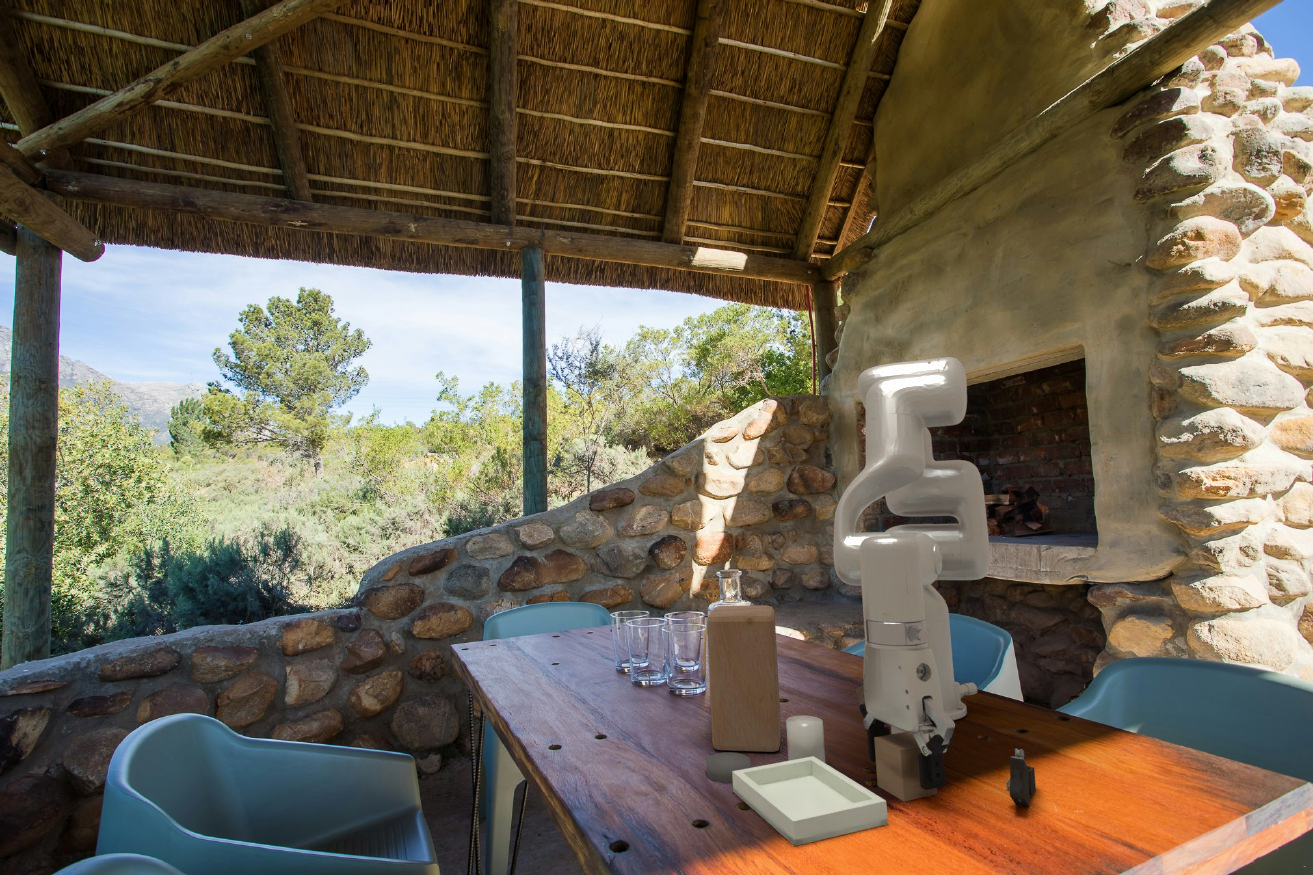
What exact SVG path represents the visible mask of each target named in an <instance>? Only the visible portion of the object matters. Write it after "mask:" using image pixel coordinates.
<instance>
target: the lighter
mask: <svg viewBox="0 0 1313 875" xmlns="http://www.w3.org/2000/svg"><path fill="white" fill-rule="evenodd" d="M1035 774H1036V773H1035V767H1033V766H1029V765H1027V762H1026V760H1025V751H1024V749H1022V748H1020V749H1018V748H1014V756H1010V758H1009V778H1008V779H1007V780H1006V782H1005V784H1006V785H1005V787H1006V789H1005V791H1007V792H1009V797H1010V798H1011V800H1012V801H1013V802H1014V805H1017V806H1020V805H1021V806H1020V807H1025V808H1030V807H1031V806H1030V796H1033V795H1035V793H1036V788H1037V787H1036V775H1035Z"/></svg>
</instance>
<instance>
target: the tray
mask: <svg viewBox="0 0 1313 875" xmlns="http://www.w3.org/2000/svg"><path fill="white" fill-rule="evenodd" d="M732 776H733V783H732V790H733V791H732V792H733V793H734V794H735V795H736V796H738V798H740V799H741V801H743V802H744V803H745V804H746V805H748V806H749V808H750V809H752V810H753V811H754V812H755V813H757V814H758V815H759V816H760V817H761V818H762V819H764V821H766V822H767V823H768V824H769V825H770V826H771V827H773V829H775V830H776V831H777V832H778V833H779V834H781V836H783V838H785V839H786V840H787V841H788V842H789V843H790V844H792V845H793V846H794V847H797V846H800V845H805V844H809V843H814V842H818V841H822V840H827V839H830V838H835V837H839V836H843V835H847V834H852V833H856V832H861V831H864V830H865V831H866V830H869V829H873V828H878V827H882V826H887V825H888V824H889V821H888V820H889V819H888V807H887V800H886V799H884V798H883V797H881V796H879V795H877V794H876V793H874V792H872V791H871V790H870V789H868V788H866V787H864V786H863V785H861V784H859V783H858V782H856V781H855V780H853V779H852V778H849V777H848V776H846V775H845V774H843V773H841V772H840V771H838V770H836V769H835V768H833V767H832V766H830V765H828V764H827V763H826V762H825V763H824V762H822V761H820V760H819V759H817V758H815V757H814V756H812V757H807V758H801V759H796V760H791V761H788V760H786V761H785V760H784V761H781V762H776V763H775V762H774V763H771V764H765V765H764V764H763V765H758V766H754V767H751V768H748V769H742V770H737V771H732Z"/></svg>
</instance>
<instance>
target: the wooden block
mask: <svg viewBox="0 0 1313 875" xmlns="http://www.w3.org/2000/svg"><path fill="white" fill-rule="evenodd" d="M776 630H777V629H776V613H775V609H774V607H773V606H770V605H765V604H764V605H761V604H760V605H718V606H715V607H714V608H713V609H712V611H711V612H710V613H709V615H708V617H707V620H706V631H707V634H706V636H707V650H708V654H707V656H708V673H709V674H708V676H709V696H710V698H709V700H710V714H711V716H710V717H711V718H710V719H711V721H710V722H711V739H712V740H711V741H712V745H713V747H714V749H715V750H718V751H727V752H728V751H729V752H730V751H732V752H759V753H760V752H761V753H763V752H764V753H765V752H766V753H775V752H778V751H779V749H780V746H781V736H782V734H781V733H782V720H781V717H782V716H781V700H780V684H779V683H780V682H779V680H780V679H779V666H778V663H779V662H778V651H777V650H778V647H777V631H776Z"/></svg>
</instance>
